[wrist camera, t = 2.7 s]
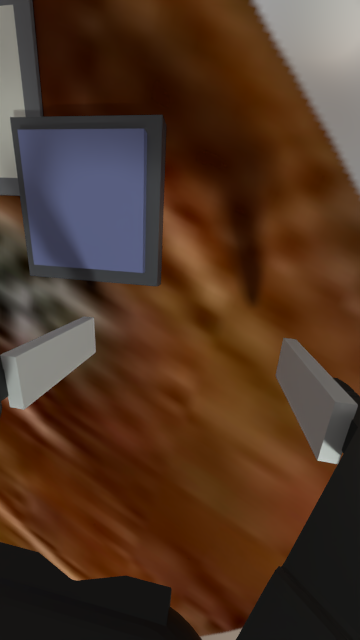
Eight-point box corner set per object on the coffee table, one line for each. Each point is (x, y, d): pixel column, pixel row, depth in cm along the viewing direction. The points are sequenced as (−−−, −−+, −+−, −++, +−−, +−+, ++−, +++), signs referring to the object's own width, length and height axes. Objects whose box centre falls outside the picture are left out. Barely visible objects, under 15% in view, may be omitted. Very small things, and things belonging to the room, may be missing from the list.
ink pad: (40, 274, 20) (24, 276, 18) (23, 126, 17) (2, 112, 15) (160, 284, 19) (155, 287, 17) (166, 125, 15) (160, 108, 14)
